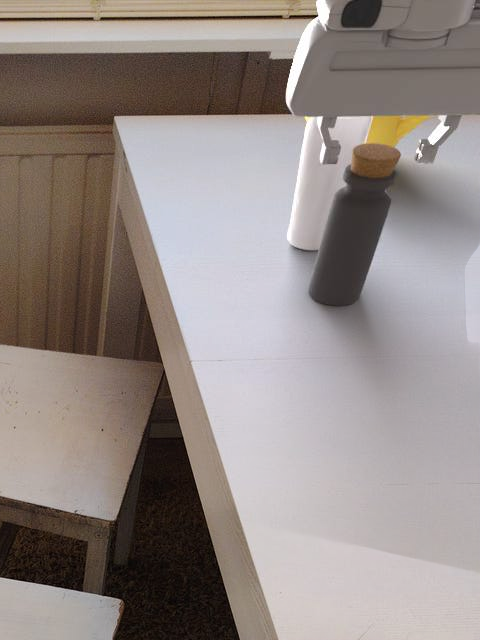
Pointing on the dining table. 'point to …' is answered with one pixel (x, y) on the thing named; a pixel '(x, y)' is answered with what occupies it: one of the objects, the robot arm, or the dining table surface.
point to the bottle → (354, 225)
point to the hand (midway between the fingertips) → (375, 162)
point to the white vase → (322, 178)
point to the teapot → (390, 128)
